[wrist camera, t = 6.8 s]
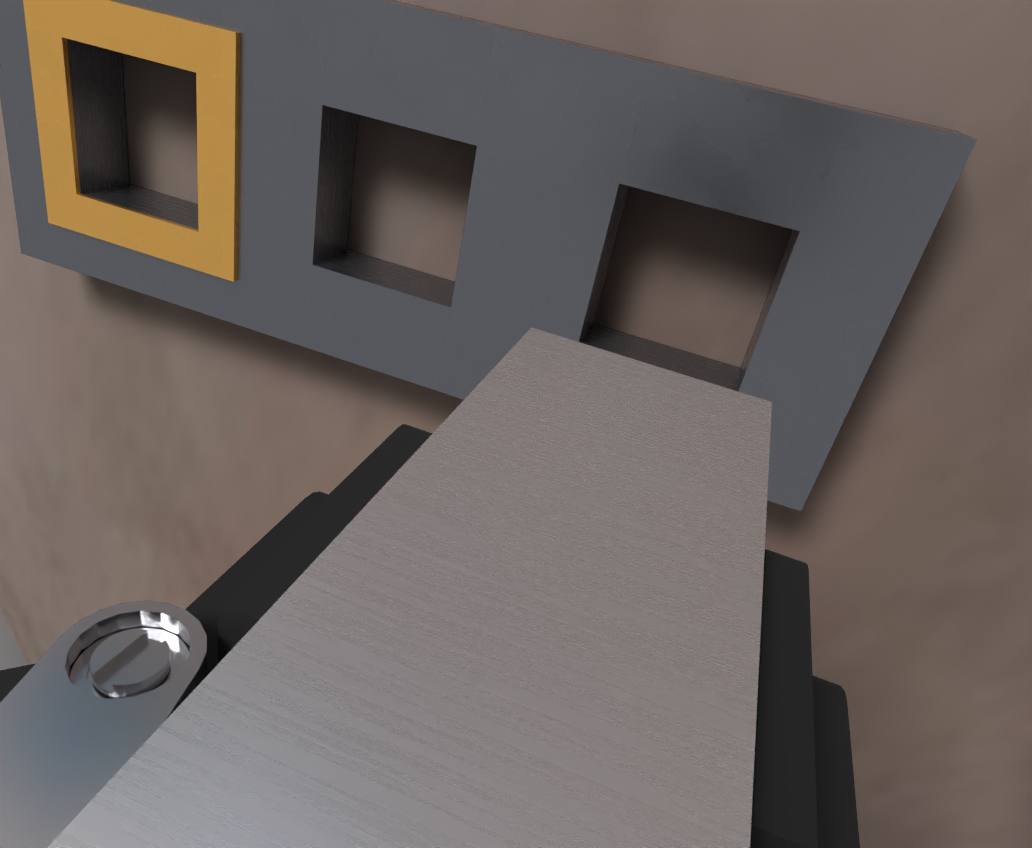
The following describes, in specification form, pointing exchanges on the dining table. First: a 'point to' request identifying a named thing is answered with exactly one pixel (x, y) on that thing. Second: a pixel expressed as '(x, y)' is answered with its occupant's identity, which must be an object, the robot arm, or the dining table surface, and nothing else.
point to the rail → (493, 193)
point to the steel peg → (498, 640)
